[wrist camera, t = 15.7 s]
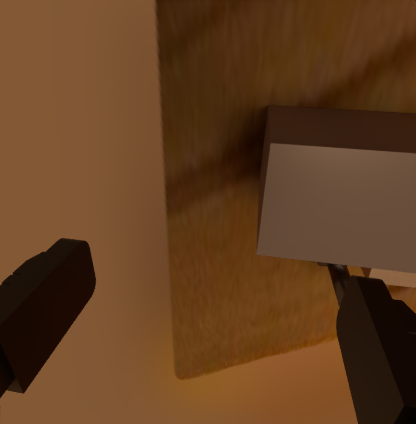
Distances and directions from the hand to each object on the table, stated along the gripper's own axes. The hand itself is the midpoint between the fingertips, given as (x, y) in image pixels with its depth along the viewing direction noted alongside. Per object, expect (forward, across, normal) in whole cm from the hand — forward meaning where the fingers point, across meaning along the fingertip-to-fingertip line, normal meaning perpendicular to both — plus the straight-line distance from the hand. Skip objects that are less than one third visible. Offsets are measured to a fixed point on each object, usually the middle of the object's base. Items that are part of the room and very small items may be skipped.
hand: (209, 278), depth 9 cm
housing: (+33, -14, +5) cm, 36 cm away
